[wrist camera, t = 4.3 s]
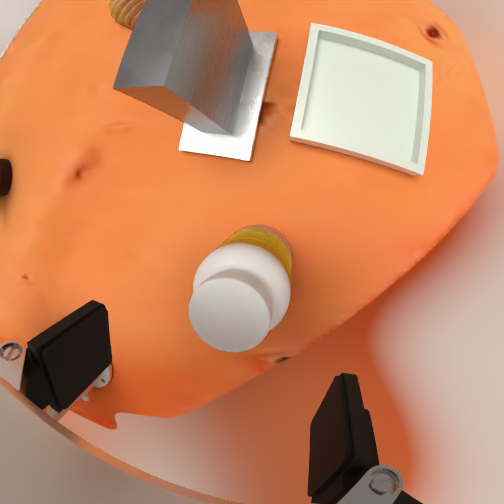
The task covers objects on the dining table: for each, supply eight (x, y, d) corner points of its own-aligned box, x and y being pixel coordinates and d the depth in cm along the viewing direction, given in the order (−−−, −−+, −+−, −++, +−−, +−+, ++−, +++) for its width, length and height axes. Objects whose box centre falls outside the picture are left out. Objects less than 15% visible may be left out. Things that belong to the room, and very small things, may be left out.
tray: (412, 175, 23) (423, 175, 20) (290, 140, 24) (289, 136, 21) (422, 69, 19) (432, 61, 17) (310, 34, 21) (311, 22, 18)
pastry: (177, 11, 22) (164, -4, 18) (133, 43, 23) (116, 32, 20) (150, -16, 20) (138, -28, 17) (112, 13, 22) (97, 3, 18)
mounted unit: (251, 161, 25) (194, 130, 10) (183, 151, 25) (77, 126, 11) (277, 38, 21) (258, -65, 7) (213, 34, 22) (153, -52, 7)
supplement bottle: (234, 215, 26) (182, 242, 14) (300, 235, 26) (306, 280, 13) (218, 278, 28) (166, 344, 16) (280, 297, 28) (268, 378, 15)
